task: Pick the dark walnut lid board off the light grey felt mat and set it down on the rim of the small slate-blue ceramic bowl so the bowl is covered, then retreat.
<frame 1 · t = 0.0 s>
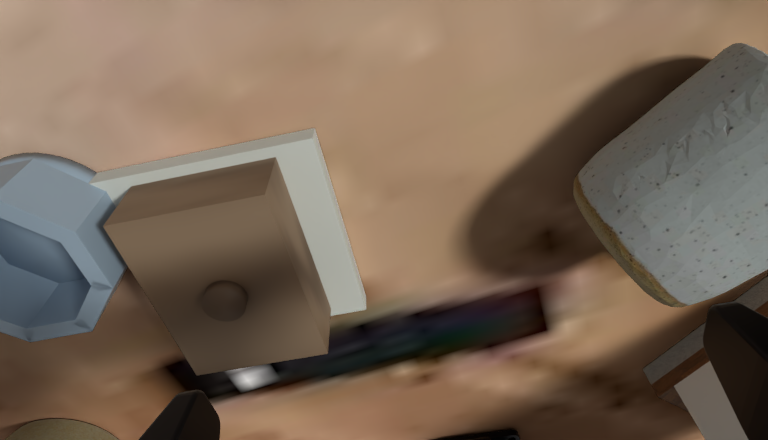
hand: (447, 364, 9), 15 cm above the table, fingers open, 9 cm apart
ceramic mug: (682, 154, 24), on the table
lid: (240, 252, 25), point 1 cm above the table, touching mat
bowl: (59, 221, 25), on the table
mat: (244, 240, 26), on the table
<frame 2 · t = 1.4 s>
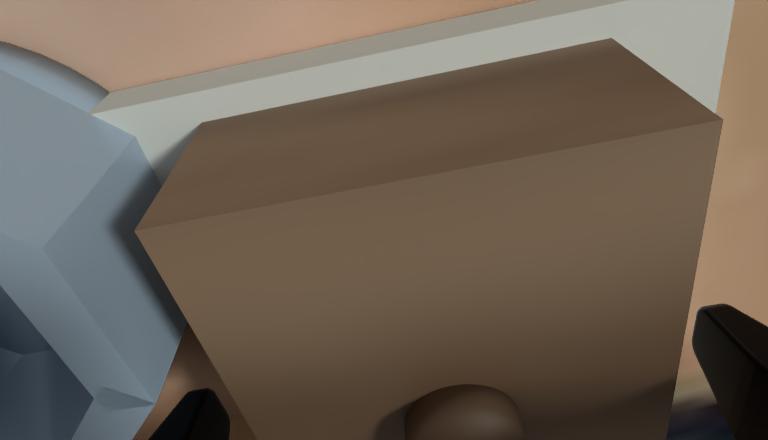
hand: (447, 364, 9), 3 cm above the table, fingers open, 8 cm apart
lid: (439, 291, 11), point 1 cm above the table, touching mat
bowl: (20, 215, 11), on the table
mat: (434, 260, 12), on the table
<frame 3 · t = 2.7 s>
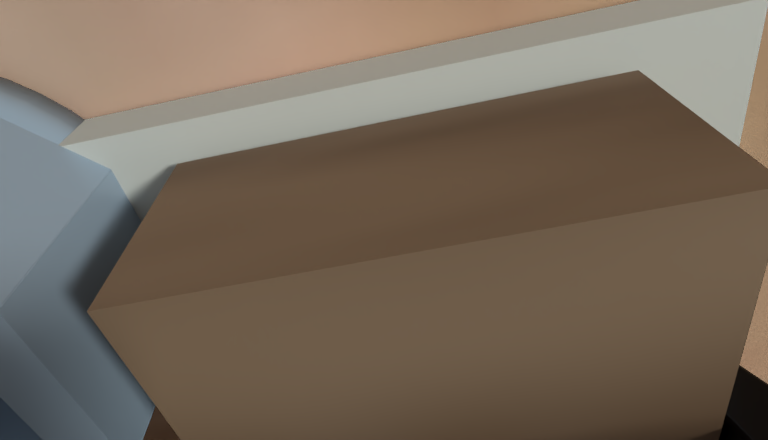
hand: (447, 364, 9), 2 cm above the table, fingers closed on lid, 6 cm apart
lid: (443, 338, 10), point 1 cm above the table, touching gripper
mat: (435, 291, 11), on the table
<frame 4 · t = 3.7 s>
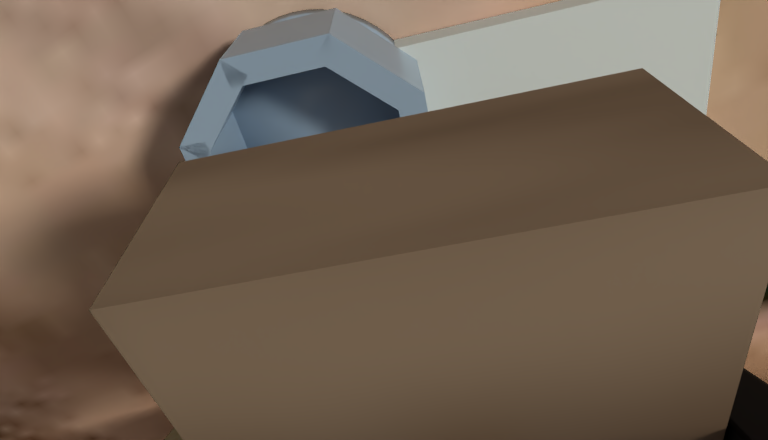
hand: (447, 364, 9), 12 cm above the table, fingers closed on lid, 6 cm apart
lid: (445, 338, 10), point 11 cm above the table, touching gripper
bowl: (324, 114, 19), on the table
mat: (552, 142, 20), on the table
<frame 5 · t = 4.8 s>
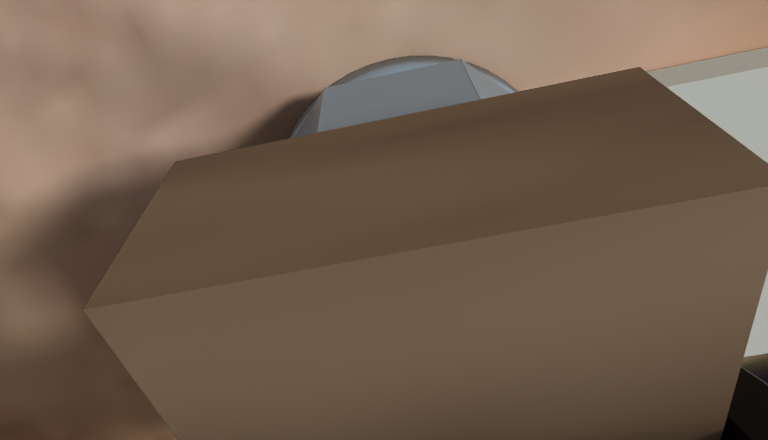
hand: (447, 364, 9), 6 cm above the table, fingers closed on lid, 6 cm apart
lid: (443, 338, 10), point 5 cm above the table, touching gripper
bowl: (415, 189, 14), on the table
mat: (706, 223, 15), on the table
when the fingers open (5 cm above the table, at t = 5.4 s): lid stays where it is, resting on bowl.
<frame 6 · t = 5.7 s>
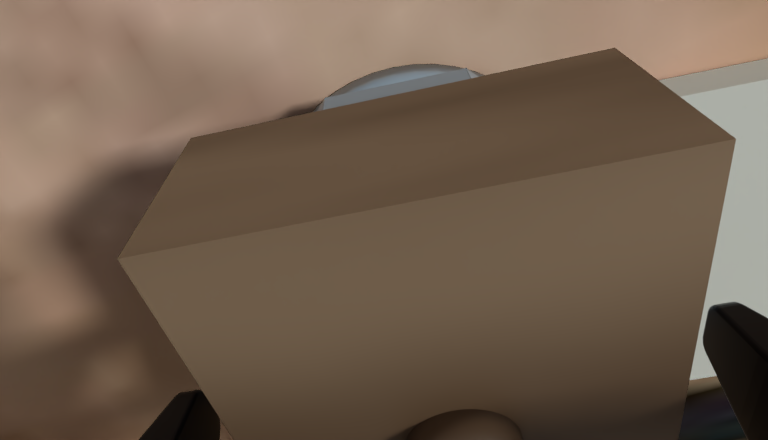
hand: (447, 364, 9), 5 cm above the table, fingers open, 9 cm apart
lid: (438, 306, 10), point 4 cm above the table, touching bowl
bowl: (418, 200, 14), on the table
mat: (716, 234, 15), on the table
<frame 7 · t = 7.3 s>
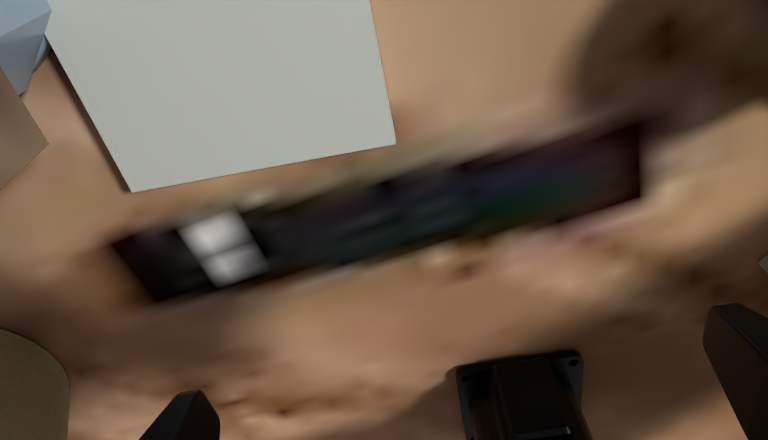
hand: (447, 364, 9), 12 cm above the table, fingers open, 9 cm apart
mat: (217, 22, 17), on the table
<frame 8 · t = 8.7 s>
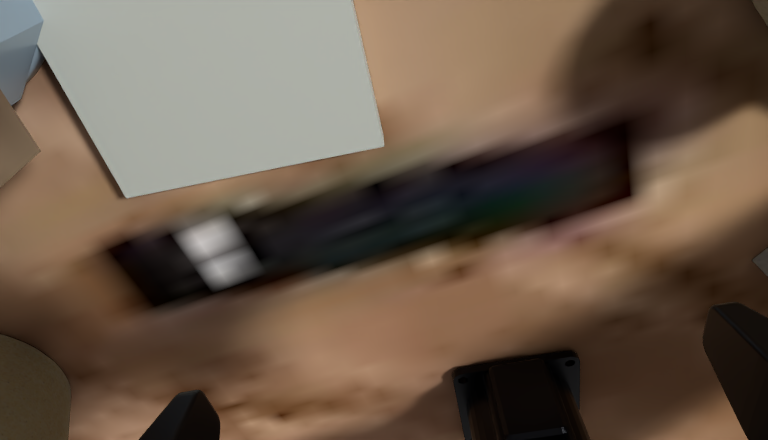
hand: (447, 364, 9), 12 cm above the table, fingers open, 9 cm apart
plant pot: (0, 374, 27), on the table
mat: (206, 30, 17), on the table
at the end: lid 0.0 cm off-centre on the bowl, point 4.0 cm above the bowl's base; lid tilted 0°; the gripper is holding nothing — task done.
